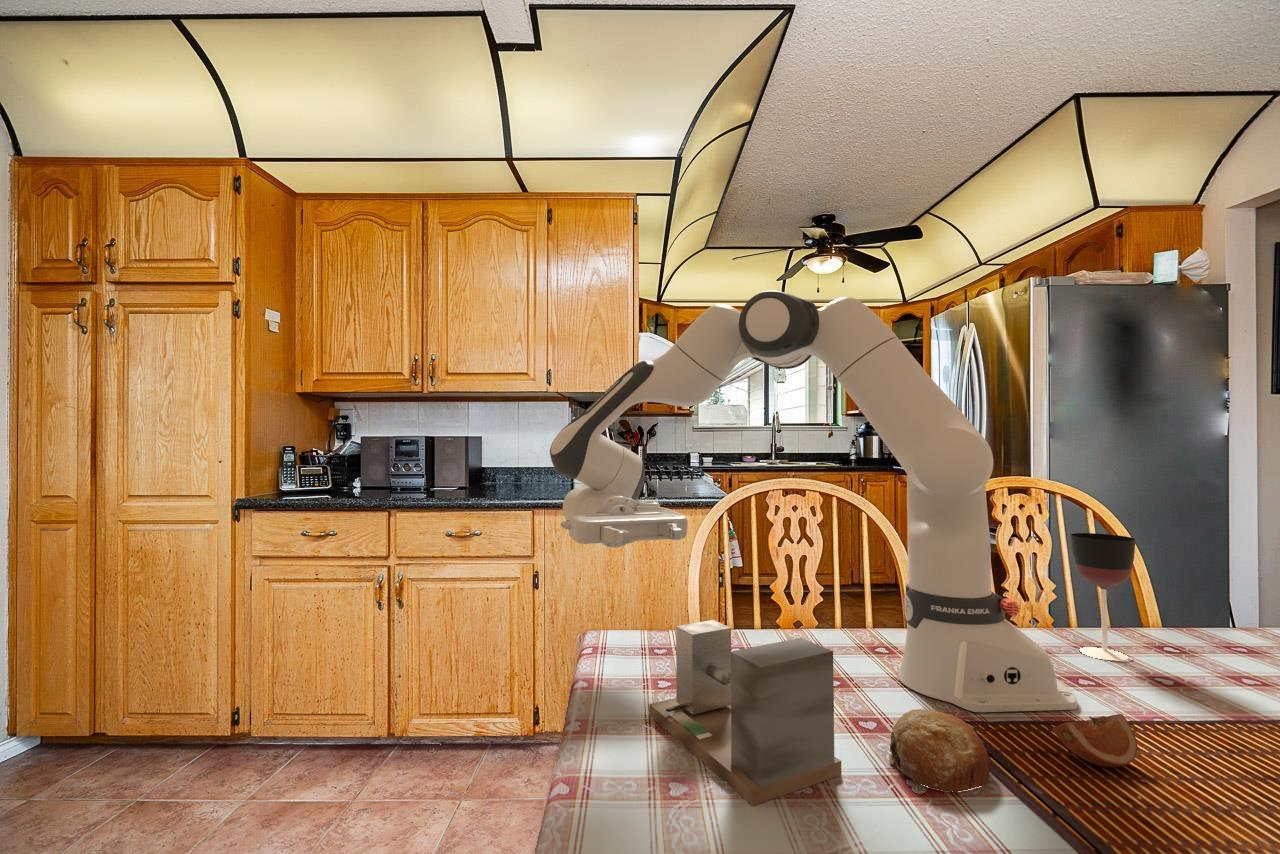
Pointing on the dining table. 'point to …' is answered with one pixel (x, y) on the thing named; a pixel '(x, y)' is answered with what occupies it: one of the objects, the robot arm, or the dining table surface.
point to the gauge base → (766, 722)
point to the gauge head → (703, 666)
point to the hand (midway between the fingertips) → (652, 536)
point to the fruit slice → (1100, 740)
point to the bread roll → (939, 751)
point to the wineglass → (1103, 574)
